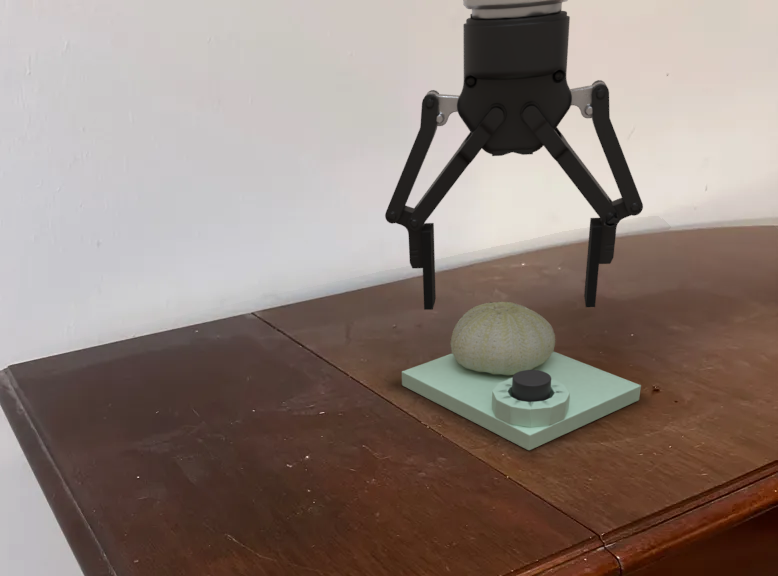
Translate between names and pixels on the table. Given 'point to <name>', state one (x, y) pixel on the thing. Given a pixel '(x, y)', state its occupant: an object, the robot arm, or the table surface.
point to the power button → (531, 386)
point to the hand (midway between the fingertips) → (508, 303)
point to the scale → (519, 418)
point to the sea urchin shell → (502, 339)
